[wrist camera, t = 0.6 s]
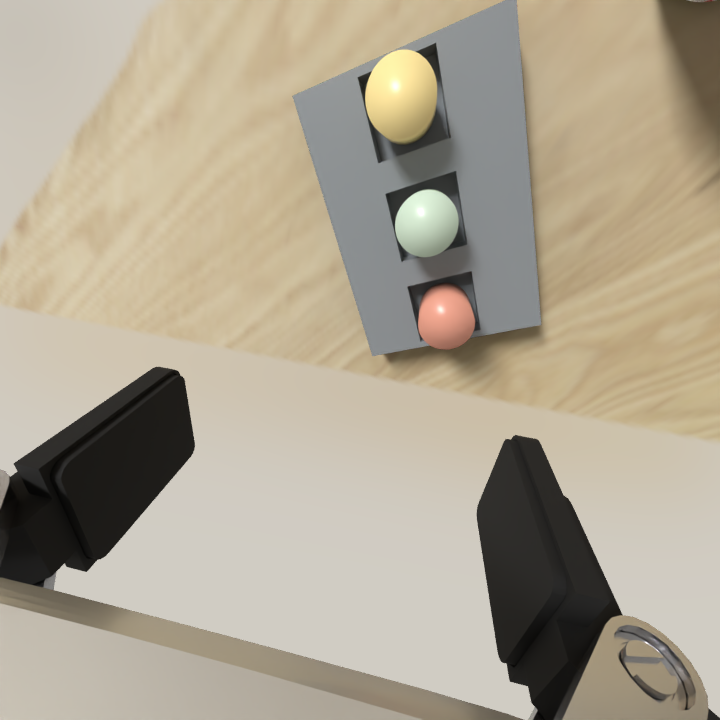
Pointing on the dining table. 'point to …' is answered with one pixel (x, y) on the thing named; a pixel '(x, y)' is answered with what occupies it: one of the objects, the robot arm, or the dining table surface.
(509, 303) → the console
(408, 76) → the button ochre
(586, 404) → the dining table surface
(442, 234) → the button sage
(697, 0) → the soda can
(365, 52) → the dining table surface
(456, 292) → the button brick
